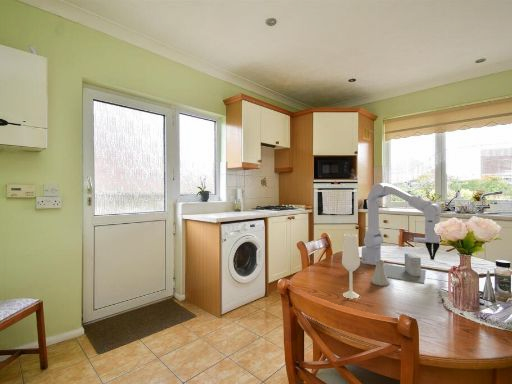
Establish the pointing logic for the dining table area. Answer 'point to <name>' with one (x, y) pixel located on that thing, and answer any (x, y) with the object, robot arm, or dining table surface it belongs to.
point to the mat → (403, 274)
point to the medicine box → (413, 264)
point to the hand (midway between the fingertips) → (432, 259)
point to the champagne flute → (350, 260)
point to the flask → (379, 274)
